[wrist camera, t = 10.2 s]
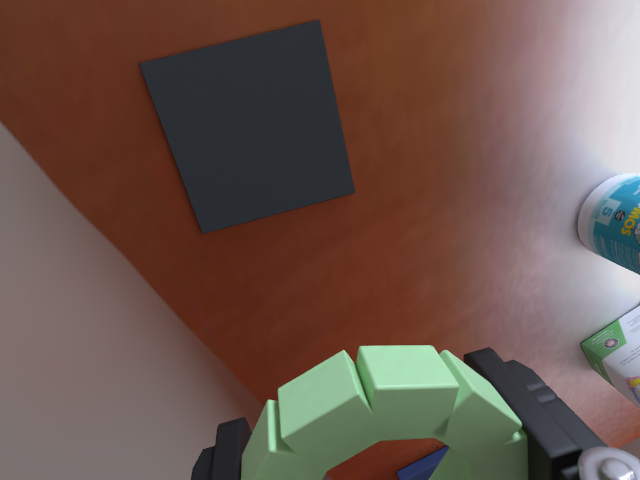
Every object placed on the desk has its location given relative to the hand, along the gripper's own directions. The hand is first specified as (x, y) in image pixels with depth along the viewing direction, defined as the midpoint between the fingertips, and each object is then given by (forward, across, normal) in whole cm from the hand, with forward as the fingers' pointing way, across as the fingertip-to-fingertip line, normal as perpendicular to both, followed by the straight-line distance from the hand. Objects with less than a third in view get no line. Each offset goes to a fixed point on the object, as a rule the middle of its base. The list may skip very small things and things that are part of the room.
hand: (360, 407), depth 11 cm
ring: (-1, 0, 0) cm, 1 cm away
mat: (+20, +1, -6) cm, 21 cm away
